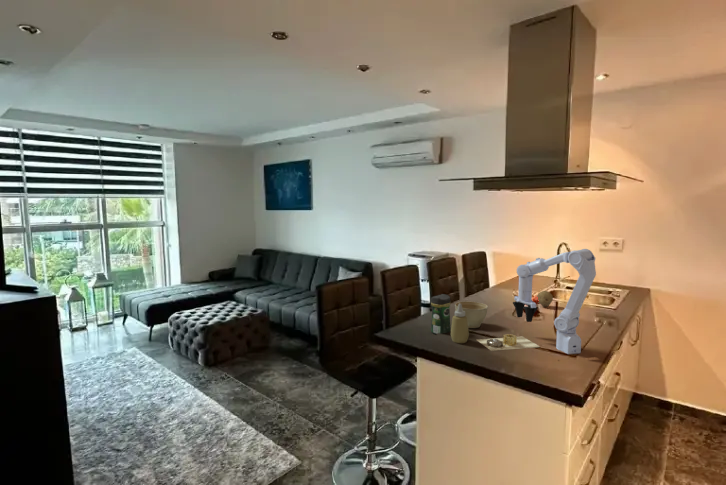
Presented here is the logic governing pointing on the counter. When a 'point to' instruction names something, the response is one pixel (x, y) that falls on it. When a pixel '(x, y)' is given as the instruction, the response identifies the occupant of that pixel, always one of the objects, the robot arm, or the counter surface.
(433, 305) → the coffee jar
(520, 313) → the robot arm
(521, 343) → the gear board
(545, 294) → the natural sponge
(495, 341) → the drive gear
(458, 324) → the squeeze bottle
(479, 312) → the planter bowl
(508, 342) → the brass gear
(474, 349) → the counter surface
